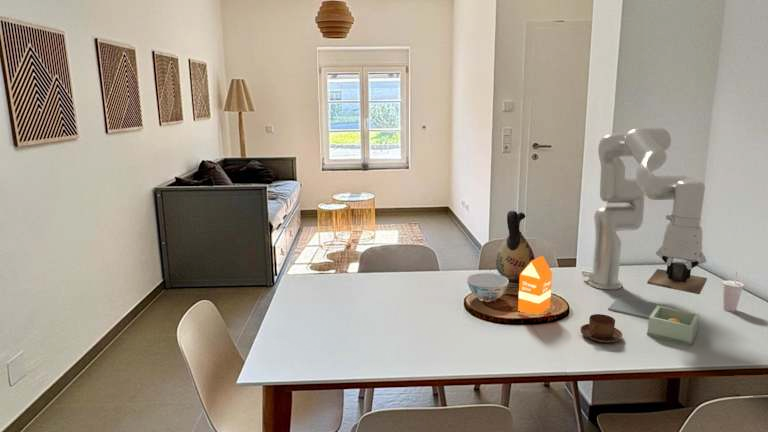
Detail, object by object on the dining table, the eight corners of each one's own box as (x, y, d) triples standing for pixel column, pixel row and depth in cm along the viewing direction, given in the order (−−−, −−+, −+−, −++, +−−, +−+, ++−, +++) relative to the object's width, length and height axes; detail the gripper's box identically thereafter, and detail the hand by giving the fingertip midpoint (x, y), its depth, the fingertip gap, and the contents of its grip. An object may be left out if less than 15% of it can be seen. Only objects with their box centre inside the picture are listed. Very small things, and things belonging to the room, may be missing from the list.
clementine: (664, 331, 164) (665, 319, 163) (666, 326, 167) (668, 315, 166) (678, 334, 161) (680, 322, 161) (681, 329, 164) (682, 318, 164)
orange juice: (517, 314, 180) (520, 258, 176) (529, 306, 187) (532, 253, 182) (538, 320, 175) (541, 263, 171) (550, 312, 181) (553, 257, 177)
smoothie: (743, 313, 179) (749, 274, 176) (723, 312, 180) (728, 273, 177) (735, 306, 185) (740, 268, 182) (715, 305, 186) (720, 267, 183)
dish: (647, 335, 163) (649, 317, 162) (655, 322, 173) (657, 305, 171) (690, 345, 156) (693, 327, 155) (697, 331, 165) (699, 314, 164)
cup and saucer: (618, 349, 155) (620, 330, 153) (576, 340, 161) (577, 321, 160) (624, 334, 165) (626, 316, 163) (584, 326, 171) (585, 308, 169)
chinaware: (462, 303, 190) (463, 283, 188) (471, 290, 203) (472, 271, 202) (504, 309, 184) (505, 288, 183) (510, 295, 198) (511, 275, 196)
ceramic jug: (504, 273, 223) (507, 204, 216) (539, 280, 214) (543, 208, 207) (487, 284, 209) (489, 211, 203) (524, 292, 200) (528, 216, 194)
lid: (647, 283, 160) (649, 265, 159) (657, 271, 171) (659, 254, 169) (699, 294, 152) (702, 275, 150) (706, 280, 162) (709, 262, 161)
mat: (608, 309, 183) (608, 308, 183) (619, 297, 195) (619, 295, 194) (655, 320, 174) (655, 318, 174) (664, 306, 185) (664, 304, 185)
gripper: (652, 219, 159) (645, 276, 163) (716, 228, 149) (706, 288, 153) (657, 214, 164) (651, 269, 169) (719, 222, 154) (710, 281, 159)
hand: (677, 278), depth 161 cm, fingers closed on lid, 3 cm apart
